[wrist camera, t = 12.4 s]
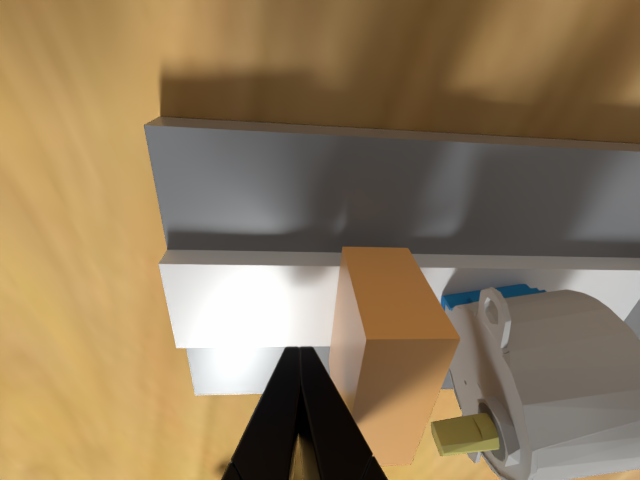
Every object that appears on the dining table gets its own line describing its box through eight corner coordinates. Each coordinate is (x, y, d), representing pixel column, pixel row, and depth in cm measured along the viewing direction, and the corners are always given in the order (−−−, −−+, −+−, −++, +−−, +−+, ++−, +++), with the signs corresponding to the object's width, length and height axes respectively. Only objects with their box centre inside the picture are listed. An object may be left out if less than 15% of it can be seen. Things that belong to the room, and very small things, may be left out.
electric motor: (392, 243, 10) (471, 394, 6) (551, 219, 10) (750, 352, 6) (395, 387, 13) (445, 548, 9) (512, 369, 13) (616, 521, 9)
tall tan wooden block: (407, 247, 10) (460, 338, 7) (381, 360, 12) (411, 464, 9) (342, 246, 10) (366, 339, 7) (328, 361, 12) (341, 467, 9)
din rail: (709, 147, 11) (919, 198, 8) (567, 364, 17) (646, 457, 13) (159, 116, 10) (73, 163, 6) (201, 371, 15) (171, 481, 11)
